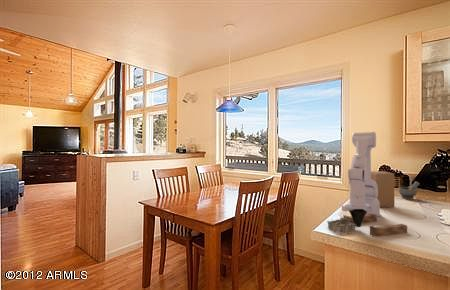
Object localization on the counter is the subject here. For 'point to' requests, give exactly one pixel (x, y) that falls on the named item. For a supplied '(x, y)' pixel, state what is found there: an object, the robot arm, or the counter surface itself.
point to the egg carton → (341, 224)
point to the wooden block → (384, 187)
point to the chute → (382, 229)
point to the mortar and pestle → (409, 191)
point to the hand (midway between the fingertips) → (357, 226)
